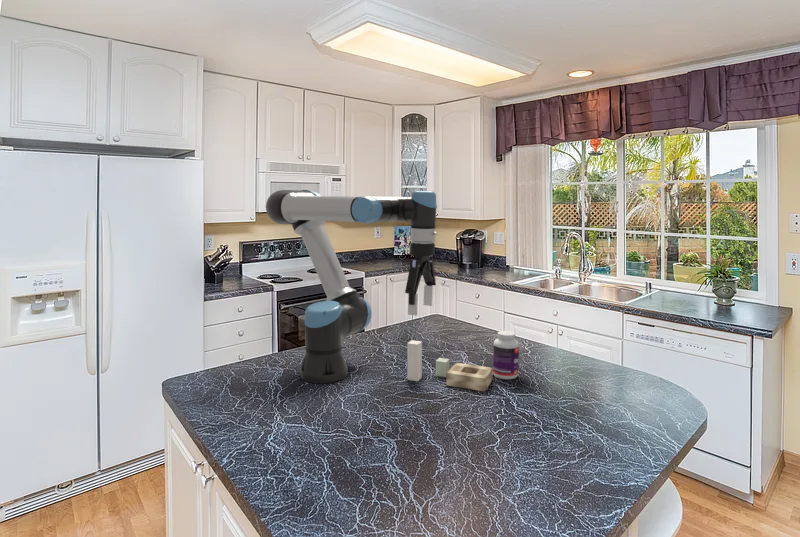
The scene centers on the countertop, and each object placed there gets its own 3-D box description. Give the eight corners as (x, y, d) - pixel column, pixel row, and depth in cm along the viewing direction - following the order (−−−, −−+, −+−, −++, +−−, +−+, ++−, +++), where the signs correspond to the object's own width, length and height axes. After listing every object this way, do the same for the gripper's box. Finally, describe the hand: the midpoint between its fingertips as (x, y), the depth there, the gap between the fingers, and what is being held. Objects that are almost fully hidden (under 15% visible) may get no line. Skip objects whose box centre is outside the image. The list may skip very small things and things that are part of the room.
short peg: (435, 375, 156) (435, 361, 155) (439, 372, 159) (439, 357, 159) (445, 377, 155) (446, 362, 154) (449, 373, 158) (449, 359, 157)
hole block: (446, 385, 148) (446, 372, 148) (456, 374, 157) (456, 362, 157) (484, 391, 143) (485, 378, 143) (492, 379, 153) (492, 367, 152)
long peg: (407, 379, 153) (407, 343, 151) (411, 376, 156) (411, 340, 154) (417, 381, 151) (417, 344, 149) (421, 377, 154) (421, 341, 153)
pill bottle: (518, 381, 151) (520, 337, 149) (492, 379, 153) (493, 335, 151) (517, 372, 159) (519, 330, 157) (492, 370, 161) (493, 328, 158)
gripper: (419, 247, 134) (417, 320, 137) (446, 239, 157) (444, 303, 160) (395, 245, 137) (393, 317, 140) (425, 238, 159) (422, 300, 163)
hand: (420, 310), depth 150 cm, fingers open, 13 cm apart
